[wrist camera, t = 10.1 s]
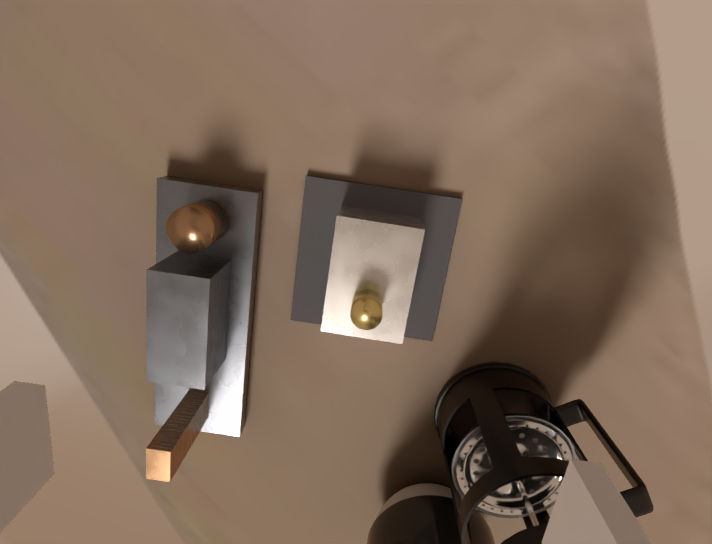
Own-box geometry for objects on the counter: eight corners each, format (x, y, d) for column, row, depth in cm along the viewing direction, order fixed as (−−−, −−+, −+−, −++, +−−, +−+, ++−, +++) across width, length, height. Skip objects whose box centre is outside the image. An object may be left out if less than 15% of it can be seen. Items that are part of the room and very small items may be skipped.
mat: (306, 175, 33) (305, 175, 32) (461, 198, 33) (462, 199, 32) (291, 317, 36) (290, 319, 36) (431, 338, 36) (432, 341, 35)
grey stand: (166, 176, 33) (97, 191, 25) (263, 190, 33) (225, 210, 25) (163, 413, 39) (106, 487, 31) (244, 425, 39) (209, 503, 31)
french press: (452, 478, 40) (541, 911, 18) (408, 390, 37) (447, 765, 15) (587, 431, 38) (876, 856, 16) (549, 335, 35) (826, 676, 13)
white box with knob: (341, 205, 33) (333, 221, 27) (419, 217, 33) (428, 236, 27) (327, 308, 35) (316, 344, 29) (399, 320, 35) (403, 358, 29)
